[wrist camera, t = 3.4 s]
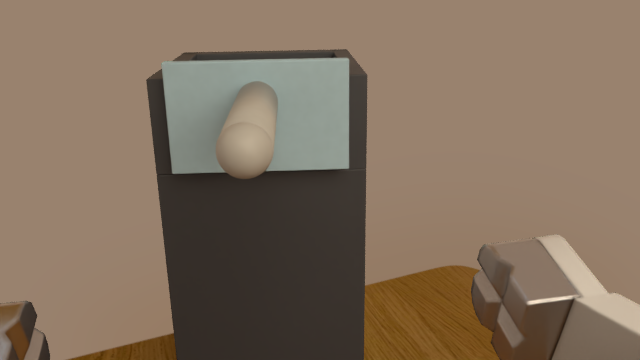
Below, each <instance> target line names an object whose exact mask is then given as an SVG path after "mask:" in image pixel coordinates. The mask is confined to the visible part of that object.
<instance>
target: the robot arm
mask: <svg viewBox="0 0 640 360" xmlns="http://www.w3.org/2000/svg"><path fill="white" fill-rule="evenodd" d="M477 260H478V262H479V264H480V265H481V267H482V269H481V270H480V271H479V272H478V273H477V274H476V275H475V276H474V277H473V282H472V288H471V293H472V303H473V306H474V310H475V313H476V315H477V317H478V319H479V321H480V323H481V325H483V326H485V327H486V328H488V329H489V330H491V331H492V332H494V333H493V337H492V341H491V344H492V346H493V348H494V349H495V351H496V353H497V355H498V357H499V359H500V360H640V305H639V304H637V303H635V302H633V301H631V300H629V299H627V298H625V297H623V296H621V295H620V294H618V293H608V292H607V291H606V290H605V288H604V287H603V286H602V285H601V283H600V282H599V281H598V280H597V279H596V277H595V276H594V275H593V274H592V272H591V271H590V270H589V269H588V267H587V266H586V265H585V264H584V262H583V261H582V260H581V259H580V257H579V256H578V255H577V254H576V252H575V251H574V250H573V249H572V248H571V246H570V245H569V244H568V243H567V241H566V240H565V239H564V238H563V237H561V236H559V235H558V234H557V235H551V236H542V237H536V238H532V239H530V238H529V239H521V240H513V241H506V242H498V243H491V244H484V245H483V246H482V248H481V249H480V251H479V255H478V259H477ZM36 318H37V314H36V312H35V310H34V307H33V305H32V303H31V302H28V301H20V302H10V303H0V360H50V353H49V349H48V343H47V340H46V337H45V335H44V333H43V332H41V331H39V330H38V329H36V328H34V326H35V322H36Z"/></svg>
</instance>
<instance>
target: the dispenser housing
mask: <svg viewBox="0 0 640 360" xmlns="http://www.w3.org/2000/svg"><path fill="white" fill-rule="evenodd" d="M304 58H348V59H349V169H332V170H297V171H264V172H263V173H262V174H260V175H259V176H257V177H254V178H250V179H239V178H235V177H233V176H231V175H229V174H228V173H191V174H173V173H172V166H171V156H170V146H169V136H168V126H167V116H166V106H165V96H164V86H163V76H162V69H161V70H159V71H158V72H156V73H155V74H153V75H152V76H151V77H149V78H148V79H147V80H146V81H147V90H148V99H149V108H150V117H151V126H152V136H153V145H154V154H155V163H156V172H157V182H158V191H159V200H160V209H161V218H162V228H163V236H164V245H165V254H166V264H167V273H168V281H169V292H170V300H171V309H172V319H173V328H174V338H175V347H176V356H177V360H364V298H365V213H366V210H365V209H366V206H365V205H366V137H367V74H366V73H365V72H364V71H363V69H362V68H361V67H360V65H359V64H358V63H357V62H356V60H355V59H354V58H353V57H352V55H351V54H350V53H349V52H348V51H347V50H346V49H345V50H297V51H248V52H247V51H246V52H199V53H198V52H196V53H183V54H182V55H181V56H179V57H177V58H176V59H175V60H173V61H205V60H254V59H304Z"/></svg>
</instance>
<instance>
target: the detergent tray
mask: <svg viewBox="0 0 640 360" xmlns="http://www.w3.org/2000/svg"><path fill="white" fill-rule="evenodd" d="M161 65H162V76H163V86H164V96H165V106H166V116H167V126H168V136H169V146H170V156H171V166H172V173H173V174H191V173H228V174H229V175H231V176H233V177H235V178H239V179H250V178H254V177H257V176H259V175H260V174H262V173H263V172H264V171H297V170H332V169H349V59H348V58H304V59H254V60H205V61H164V62H163V63H162V64H161Z"/></svg>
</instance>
